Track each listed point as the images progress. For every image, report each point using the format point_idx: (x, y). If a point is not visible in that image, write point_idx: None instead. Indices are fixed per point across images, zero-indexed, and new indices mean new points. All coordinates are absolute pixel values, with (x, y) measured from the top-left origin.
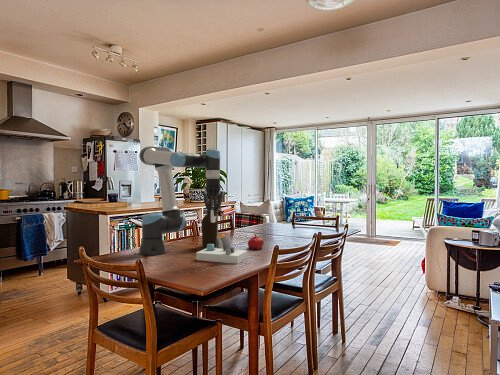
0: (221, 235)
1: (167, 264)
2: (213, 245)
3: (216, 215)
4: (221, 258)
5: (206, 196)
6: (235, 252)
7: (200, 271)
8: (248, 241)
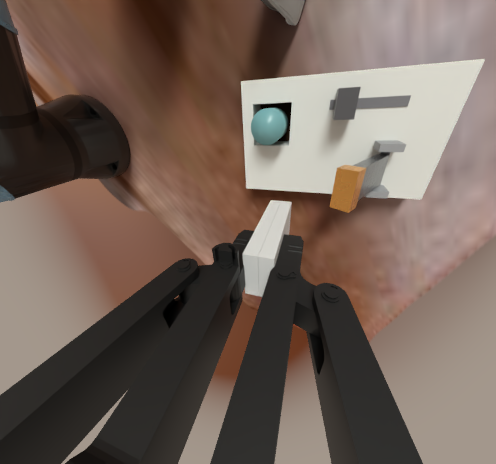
0: (348, 211)
1: (217, 236)
2: (282, 129)
3: (301, 243)
4: None
5: (35, 450)
6: (403, 137)
7: (313, 272)
8: None
